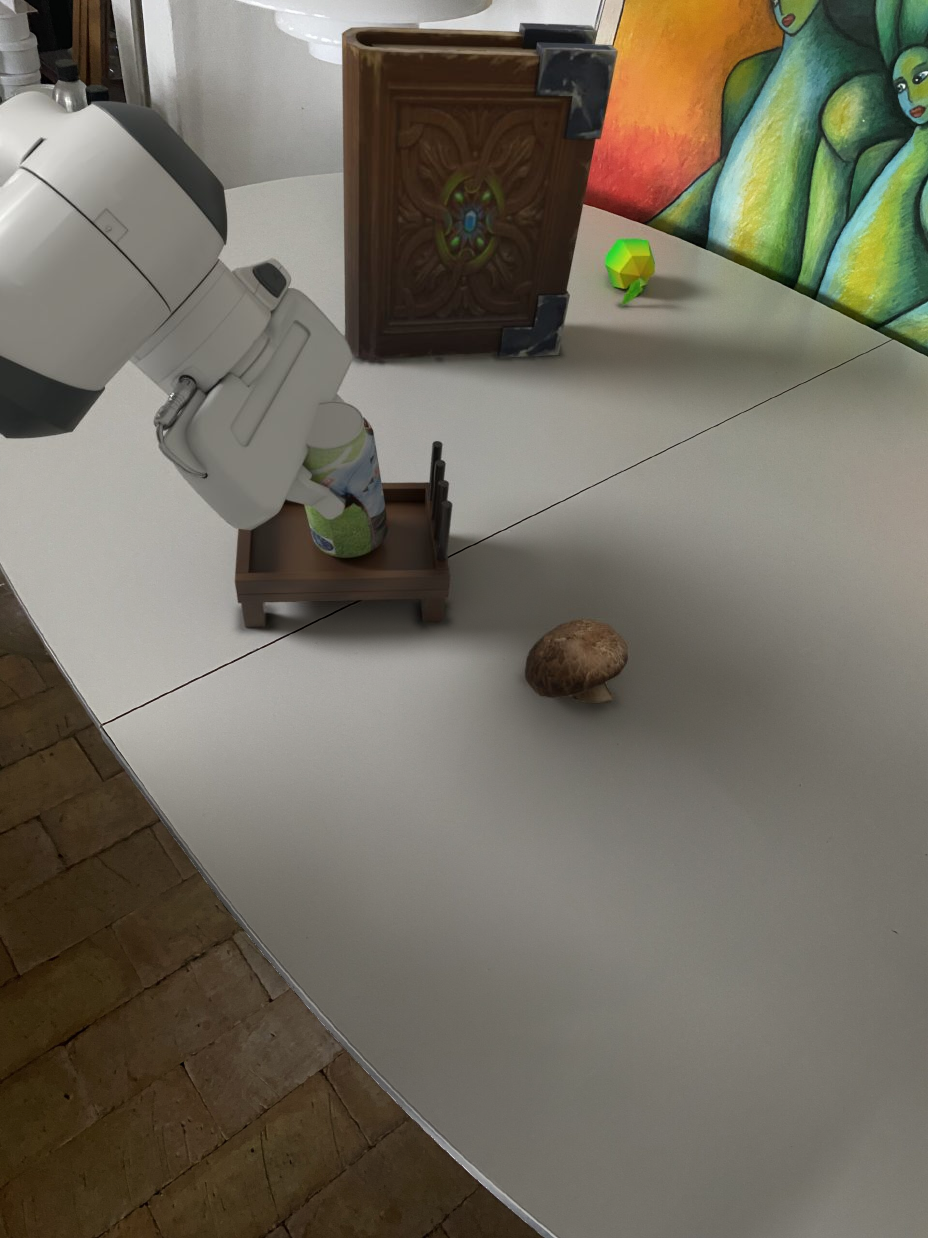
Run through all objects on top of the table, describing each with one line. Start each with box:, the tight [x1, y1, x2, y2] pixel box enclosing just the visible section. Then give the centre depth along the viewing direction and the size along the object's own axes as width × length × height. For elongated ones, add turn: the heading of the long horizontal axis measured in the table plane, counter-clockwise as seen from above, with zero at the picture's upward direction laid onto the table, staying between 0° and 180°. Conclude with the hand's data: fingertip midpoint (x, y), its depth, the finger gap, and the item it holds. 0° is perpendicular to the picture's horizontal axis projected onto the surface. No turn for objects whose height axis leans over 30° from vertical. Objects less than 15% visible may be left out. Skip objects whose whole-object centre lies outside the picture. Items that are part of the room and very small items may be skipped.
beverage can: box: [302, 401, 388, 558], centre depth 65 cm, size 6×7×12 cm
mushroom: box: [524, 618, 629, 704], centre depth 65 cm, size 8×8×6 cm
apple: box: [604, 238, 656, 307], centre depth 108 cm, size 7×6×9 cm
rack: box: [234, 440, 453, 628], centre depth 69 cm, size 16×11×11 cm
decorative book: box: [341, 22, 619, 360], centre depth 87 cm, size 23×7×30 cm, turn 104°
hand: (351, 481), depth 65 cm, fingers open, 5 cm apart
